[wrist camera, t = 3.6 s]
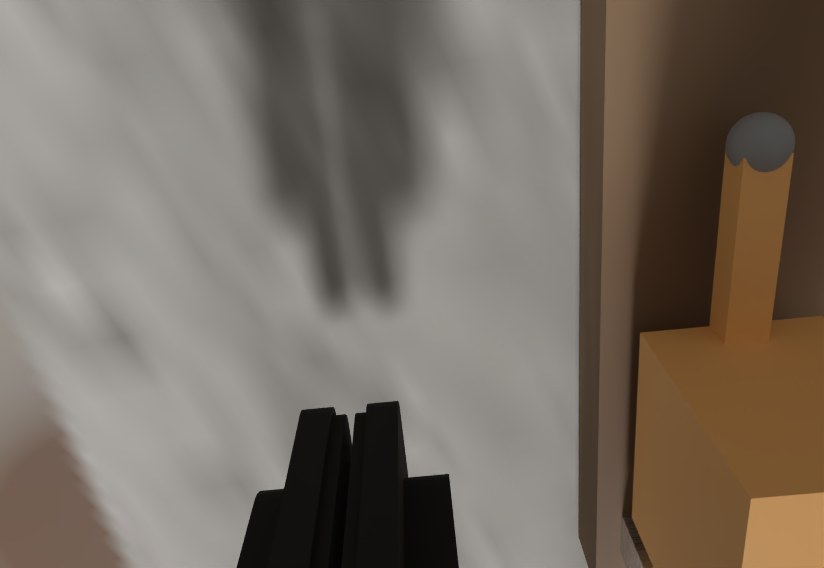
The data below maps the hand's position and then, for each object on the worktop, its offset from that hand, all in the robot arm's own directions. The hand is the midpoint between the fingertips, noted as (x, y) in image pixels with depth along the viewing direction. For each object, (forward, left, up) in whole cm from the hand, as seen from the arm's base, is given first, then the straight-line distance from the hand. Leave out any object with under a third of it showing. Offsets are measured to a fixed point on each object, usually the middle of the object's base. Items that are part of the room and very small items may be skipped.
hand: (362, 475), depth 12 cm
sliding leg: (-6, -1, -1) cm, 6 cm away
